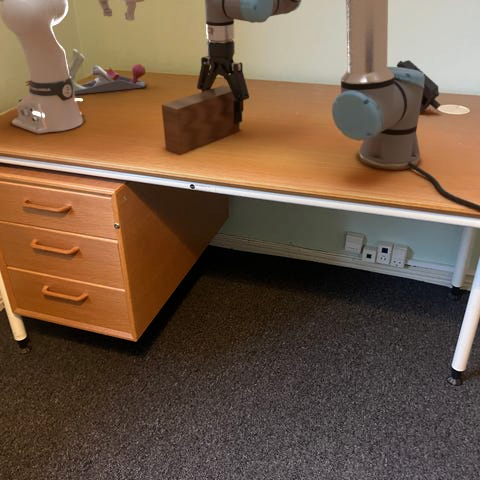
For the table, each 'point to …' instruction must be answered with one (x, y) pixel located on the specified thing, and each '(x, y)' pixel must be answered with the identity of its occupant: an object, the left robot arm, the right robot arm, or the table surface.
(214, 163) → the table surface
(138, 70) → the hand plane
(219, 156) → the table surface
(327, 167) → the table surface
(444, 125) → the table surface
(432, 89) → the tool
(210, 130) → the box
